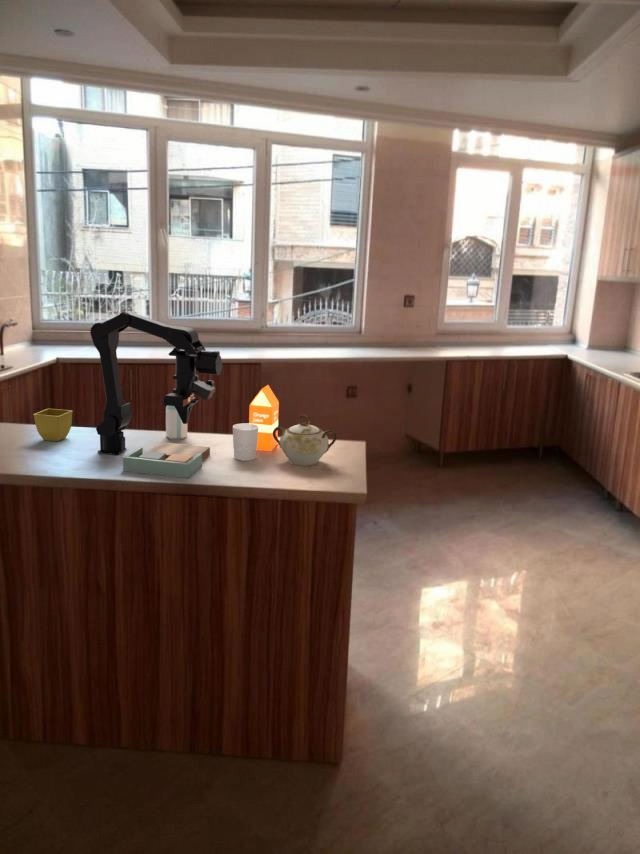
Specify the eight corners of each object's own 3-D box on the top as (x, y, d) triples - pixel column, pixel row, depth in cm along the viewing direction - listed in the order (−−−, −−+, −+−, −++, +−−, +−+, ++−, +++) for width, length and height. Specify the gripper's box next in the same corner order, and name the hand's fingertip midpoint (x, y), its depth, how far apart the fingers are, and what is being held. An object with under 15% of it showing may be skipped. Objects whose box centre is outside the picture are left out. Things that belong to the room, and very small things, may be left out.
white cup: (253, 462, 200) (254, 431, 198) (228, 459, 202) (229, 428, 199) (260, 455, 208) (261, 424, 205) (236, 452, 209) (237, 422, 207)
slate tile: (138, 465, 190) (138, 457, 190) (146, 459, 196) (146, 451, 196) (158, 467, 190) (158, 458, 189) (165, 461, 196) (165, 452, 195)
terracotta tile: (165, 467, 189) (165, 459, 189) (173, 461, 195) (173, 453, 194) (185, 470, 188) (185, 461, 188) (192, 463, 194) (192, 455, 194)
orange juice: (277, 443, 222) (279, 385, 217) (271, 451, 213) (273, 390, 208) (255, 441, 223) (256, 383, 218) (247, 448, 214) (249, 388, 209)
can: (164, 435, 225) (164, 400, 222) (185, 434, 227) (185, 399, 224) (167, 440, 218) (167, 405, 215) (189, 439, 221) (189, 404, 218)
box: (123, 470, 187) (122, 457, 186) (139, 459, 197) (139, 447, 196) (188, 478, 184) (188, 464, 183) (201, 466, 194) (201, 453, 193)
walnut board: (144, 460, 197) (144, 452, 196) (161, 449, 208) (161, 441, 208) (196, 466, 194) (196, 458, 194) (209, 454, 206) (210, 447, 205)
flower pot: (34, 441, 210) (32, 413, 207) (49, 434, 218) (48, 407, 216) (59, 444, 208) (58, 416, 206) (74, 437, 217) (73, 410, 214)
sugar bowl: (266, 466, 198) (267, 417, 194) (277, 452, 212) (278, 406, 209) (331, 472, 195) (334, 423, 192) (337, 458, 210) (340, 412, 206)
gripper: (199, 379, 183) (198, 434, 186) (223, 369, 200) (221, 419, 204) (161, 376, 185) (161, 429, 189) (188, 366, 202) (188, 415, 206)
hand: (185, 423), depth 197 cm, fingers closed
